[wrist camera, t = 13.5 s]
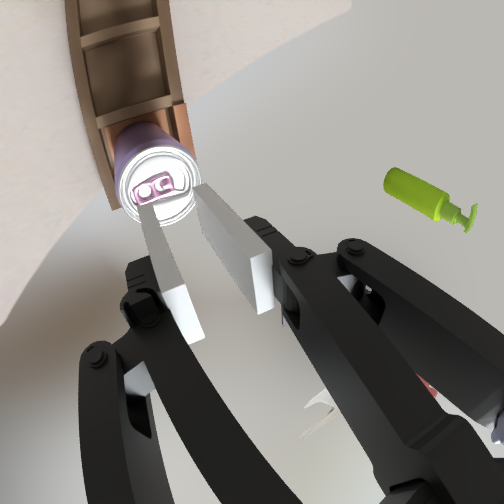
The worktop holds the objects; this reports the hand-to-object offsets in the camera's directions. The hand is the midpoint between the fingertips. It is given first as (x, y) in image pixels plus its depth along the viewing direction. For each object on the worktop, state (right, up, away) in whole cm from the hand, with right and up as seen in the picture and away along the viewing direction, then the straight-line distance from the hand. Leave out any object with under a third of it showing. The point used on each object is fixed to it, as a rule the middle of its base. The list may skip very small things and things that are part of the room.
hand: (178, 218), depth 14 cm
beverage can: (-9, +10, +14) cm, 20 cm away
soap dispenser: (+33, +14, +38) cm, 52 cm away
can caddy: (-10, +18, +10) cm, 22 cm away
